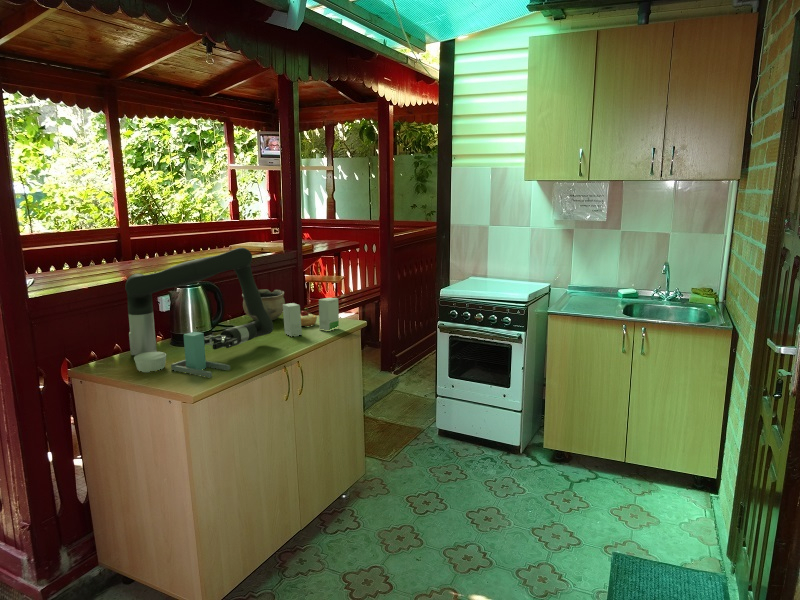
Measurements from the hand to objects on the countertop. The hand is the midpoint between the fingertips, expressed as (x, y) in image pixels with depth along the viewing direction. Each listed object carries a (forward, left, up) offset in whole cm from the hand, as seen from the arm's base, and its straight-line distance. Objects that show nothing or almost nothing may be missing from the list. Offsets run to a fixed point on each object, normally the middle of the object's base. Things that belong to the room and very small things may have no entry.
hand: (205, 345), depth 203 cm
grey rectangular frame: (-1, -6, -8) cm, 10 cm away
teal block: (-3, -4, -8) cm, 10 cm away
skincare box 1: (+35, +40, -8) cm, 54 cm away
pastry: (+42, +58, -8) cm, 72 cm away
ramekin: (-20, +1, -8) cm, 22 cm away
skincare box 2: (+53, +46, -8) cm, 71 cm away
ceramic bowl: (+22, +74, -8) cm, 78 cm away
